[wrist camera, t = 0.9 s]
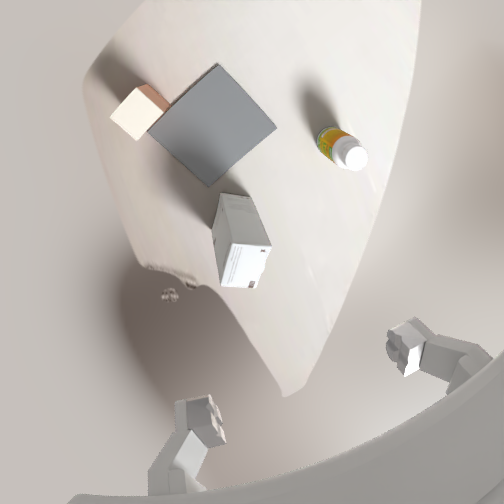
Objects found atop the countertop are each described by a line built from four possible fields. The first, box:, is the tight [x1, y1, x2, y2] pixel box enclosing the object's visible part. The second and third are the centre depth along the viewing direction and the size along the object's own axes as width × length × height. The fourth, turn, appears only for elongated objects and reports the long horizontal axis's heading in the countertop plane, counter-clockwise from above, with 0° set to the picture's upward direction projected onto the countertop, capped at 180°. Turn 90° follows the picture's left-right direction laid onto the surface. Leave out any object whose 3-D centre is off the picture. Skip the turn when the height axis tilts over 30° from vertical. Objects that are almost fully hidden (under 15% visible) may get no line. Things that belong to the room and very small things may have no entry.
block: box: [110, 84, 170, 141], centre depth 34 cm, size 5×5×9 cm
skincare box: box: [212, 193, 272, 288], centre depth 46 cm, size 8×6×15 cm
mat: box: [148, 65, 277, 187], centre depth 42 cm, size 15×14×1 cm
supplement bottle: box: [317, 127, 368, 171], centre depth 43 cm, size 5×5×10 cm
